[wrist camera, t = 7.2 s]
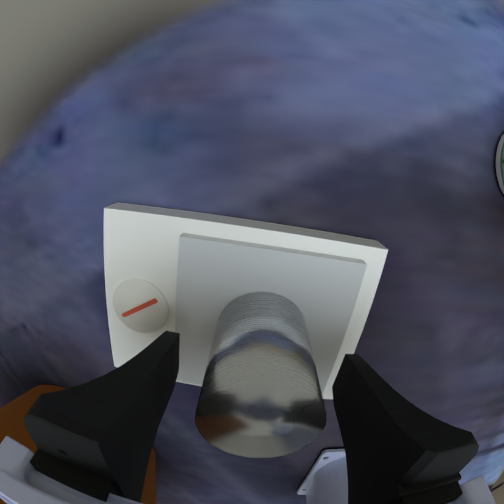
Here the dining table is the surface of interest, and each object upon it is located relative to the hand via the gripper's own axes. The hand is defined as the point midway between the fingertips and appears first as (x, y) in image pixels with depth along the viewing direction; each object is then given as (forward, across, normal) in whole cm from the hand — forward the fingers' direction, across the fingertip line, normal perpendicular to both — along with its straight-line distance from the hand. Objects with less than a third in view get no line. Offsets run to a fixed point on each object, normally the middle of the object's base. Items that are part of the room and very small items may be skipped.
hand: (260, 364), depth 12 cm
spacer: (+2, 0, 0) cm, 3 cm away
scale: (+5, +2, 0) cm, 5 cm away
